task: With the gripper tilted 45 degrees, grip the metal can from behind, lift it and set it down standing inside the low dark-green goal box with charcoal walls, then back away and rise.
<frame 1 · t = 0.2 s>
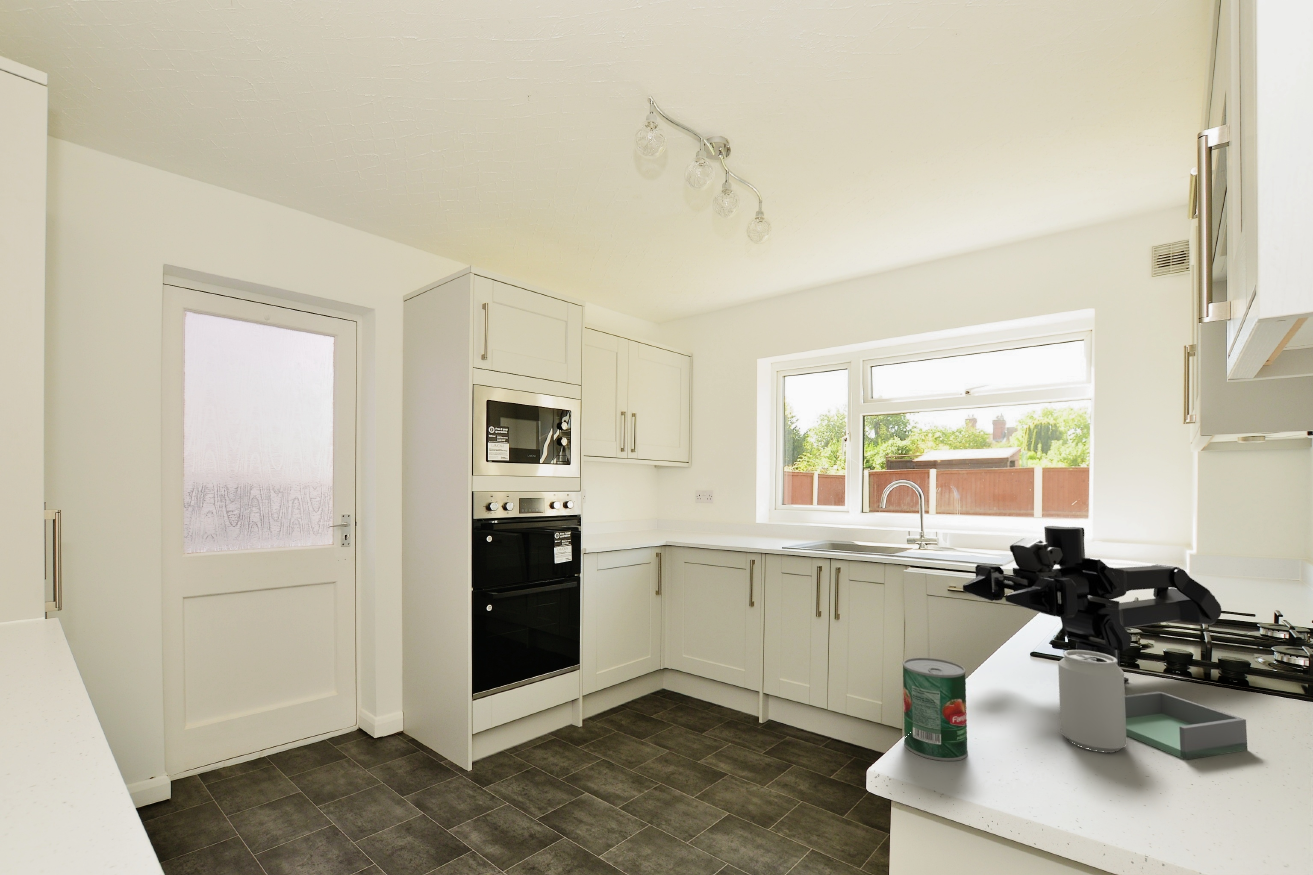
hand: (983, 593, 107), 17 cm above the countertop, tool horizontal, fingers open, 9 cm apart
can: (1093, 744, 86), on the countertop
canned tomato: (935, 749, 84), on the countertop
goal: (1172, 737, 88), on the countertop
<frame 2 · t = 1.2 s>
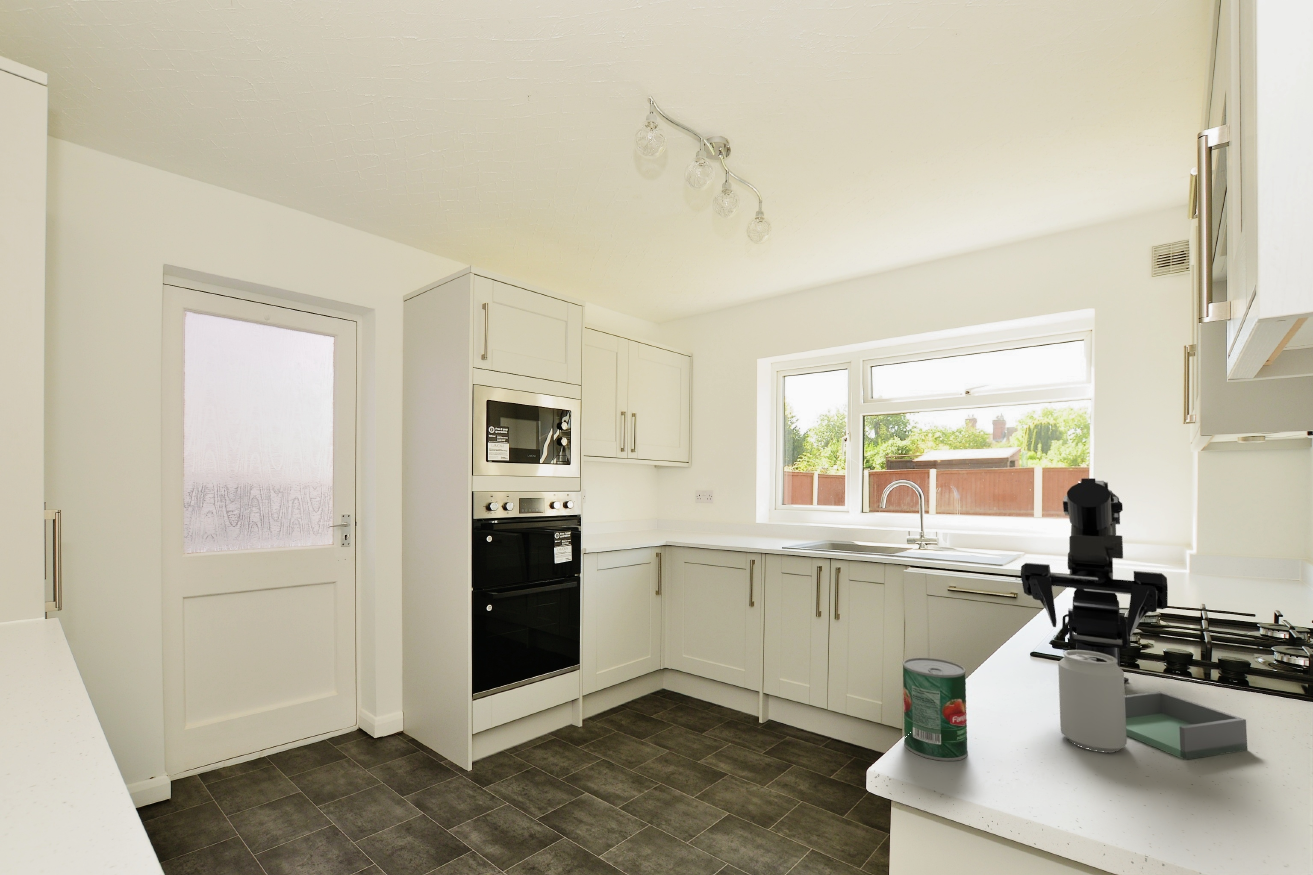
hand: (1090, 630, 93), 14 cm above the countertop, tool tilted 45°, fingers open, 9 cm apart
nothing on the countertop moved.
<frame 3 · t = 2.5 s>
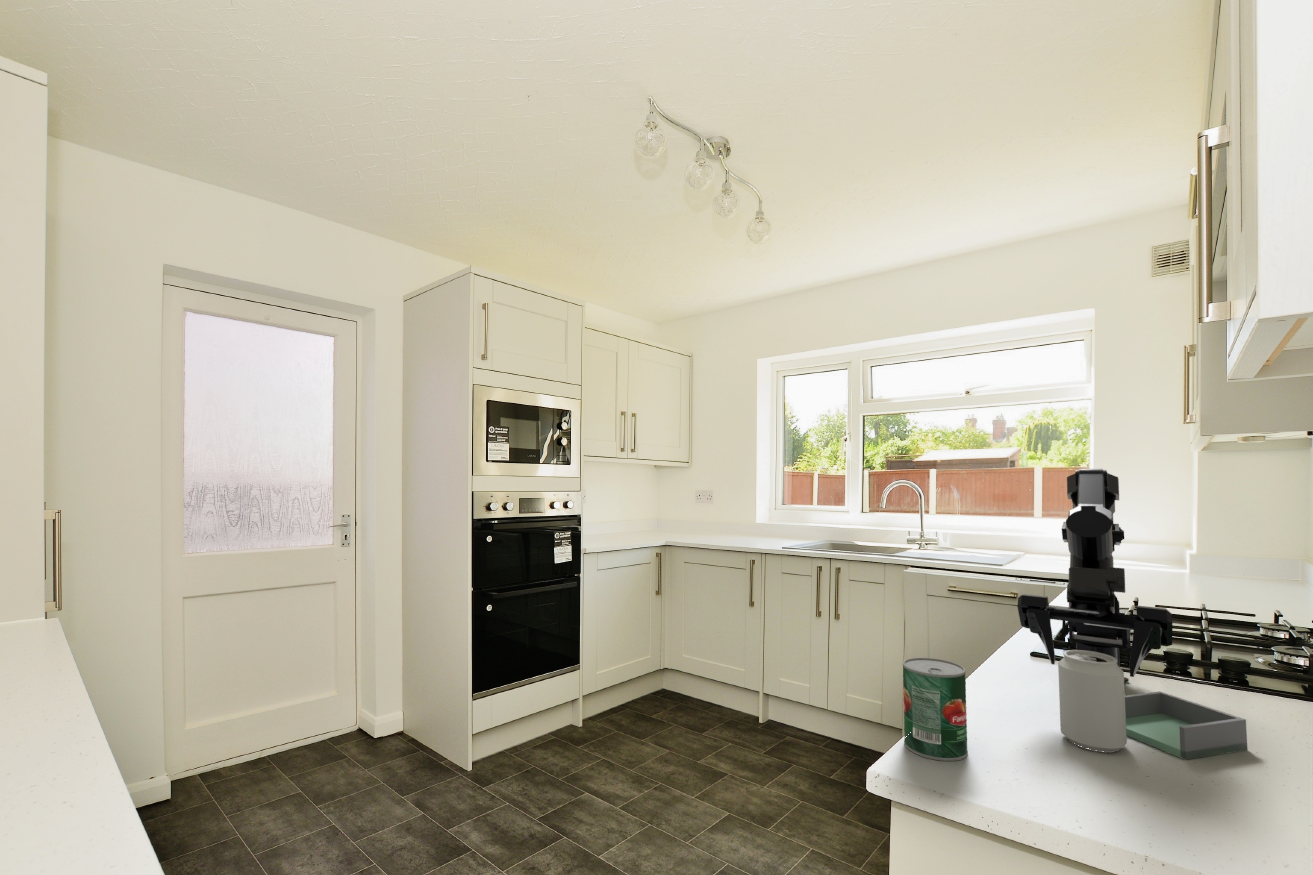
hand: (1091, 668, 88), 10 cm above the countertop, tool tilted 45°, fingers open, 9 cm apart
nothing on the countertop moved.
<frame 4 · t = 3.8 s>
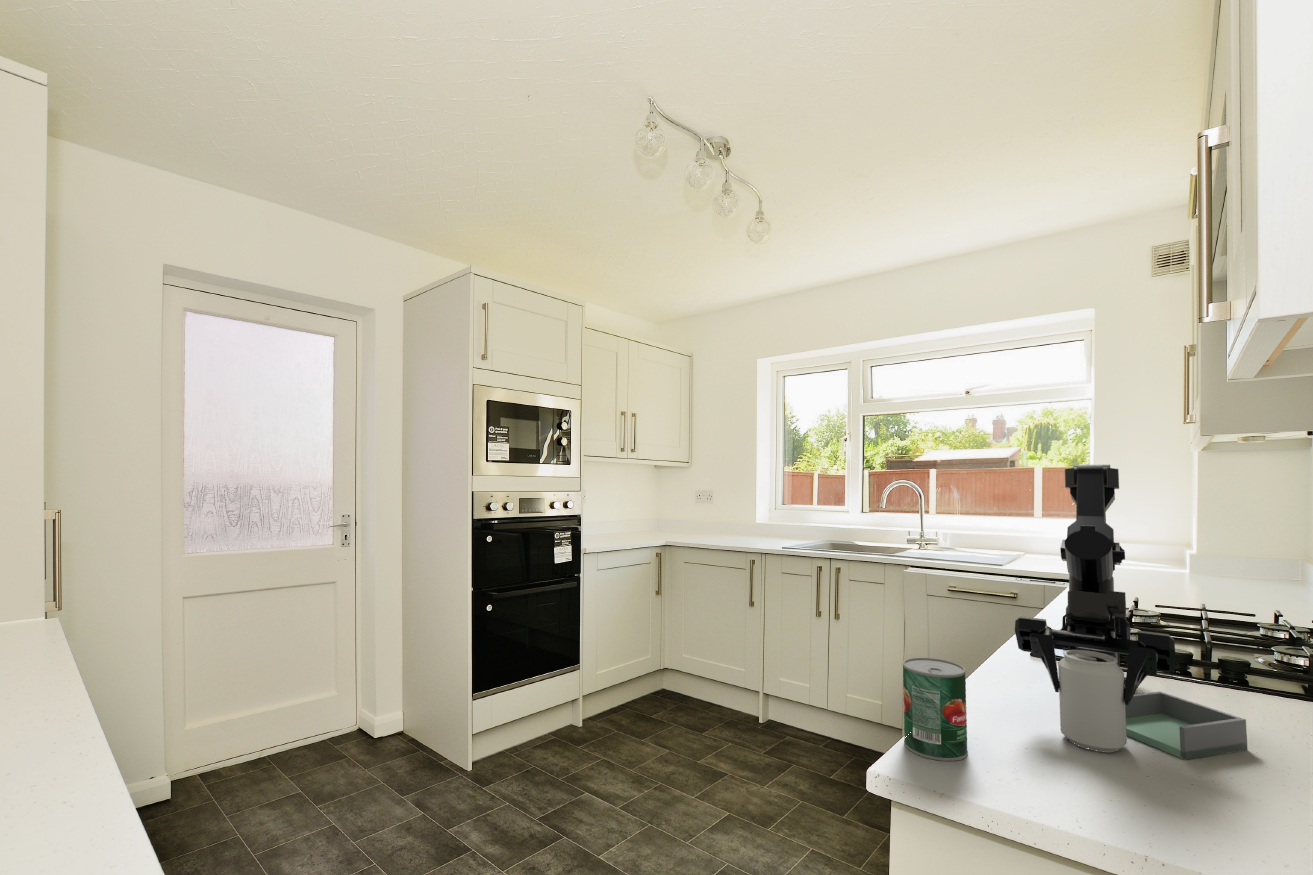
hand: (1090, 696, 85), 7 cm above the countertop, tool tilted 45°, fingers closed on can, 7 cm apart
can: (1093, 744, 86), on the countertop, touching gripper
everything else where it was.
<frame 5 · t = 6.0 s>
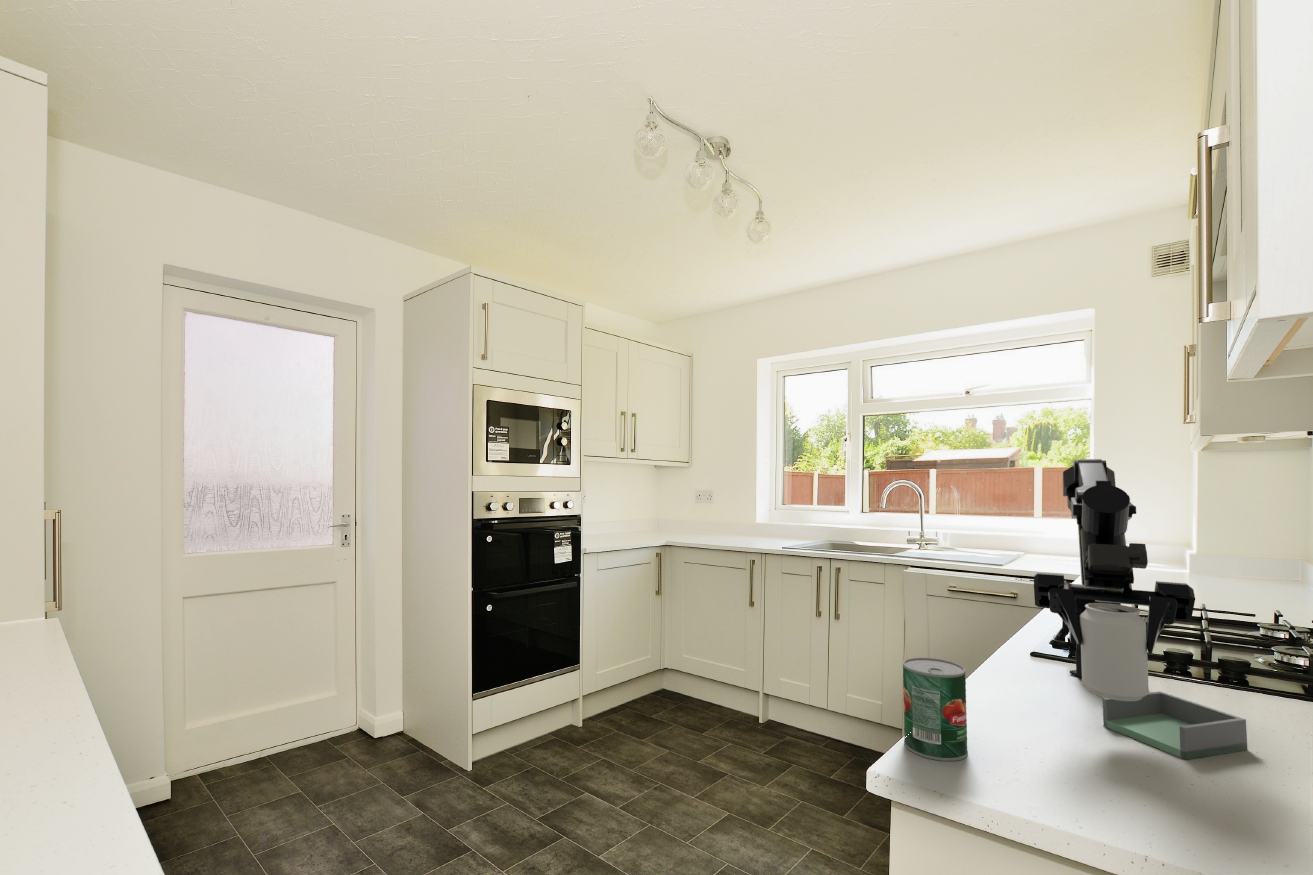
hand: (1114, 647, 86), 13 cm above the countertop, tool tilted 45°, fingers closed on can, 7 cm apart
can: (1114, 694, 87), point 6 cm above the countertop, touching gripper
everything else where it was.
when the fingers open (9 cm above the countertop, at t = 8.3 s): can drops 1 cm, resting on goal.
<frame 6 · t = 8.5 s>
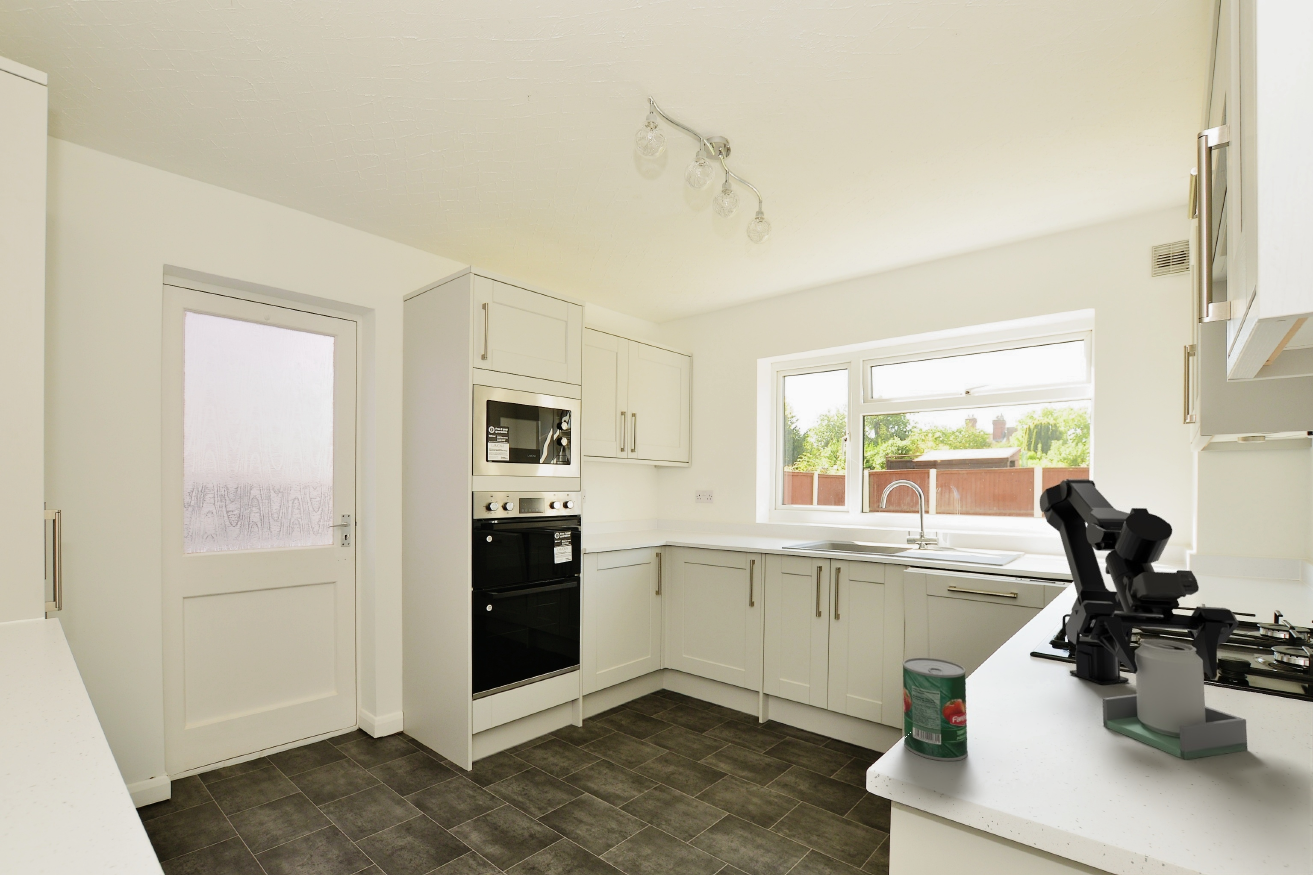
hand: (1174, 674, 87), 9 cm above the countertop, tool tilted 45°, fingers open, 9 cm apart
can: (1171, 730, 88), point 1 cm above the countertop, touching goal
everything else where it was.
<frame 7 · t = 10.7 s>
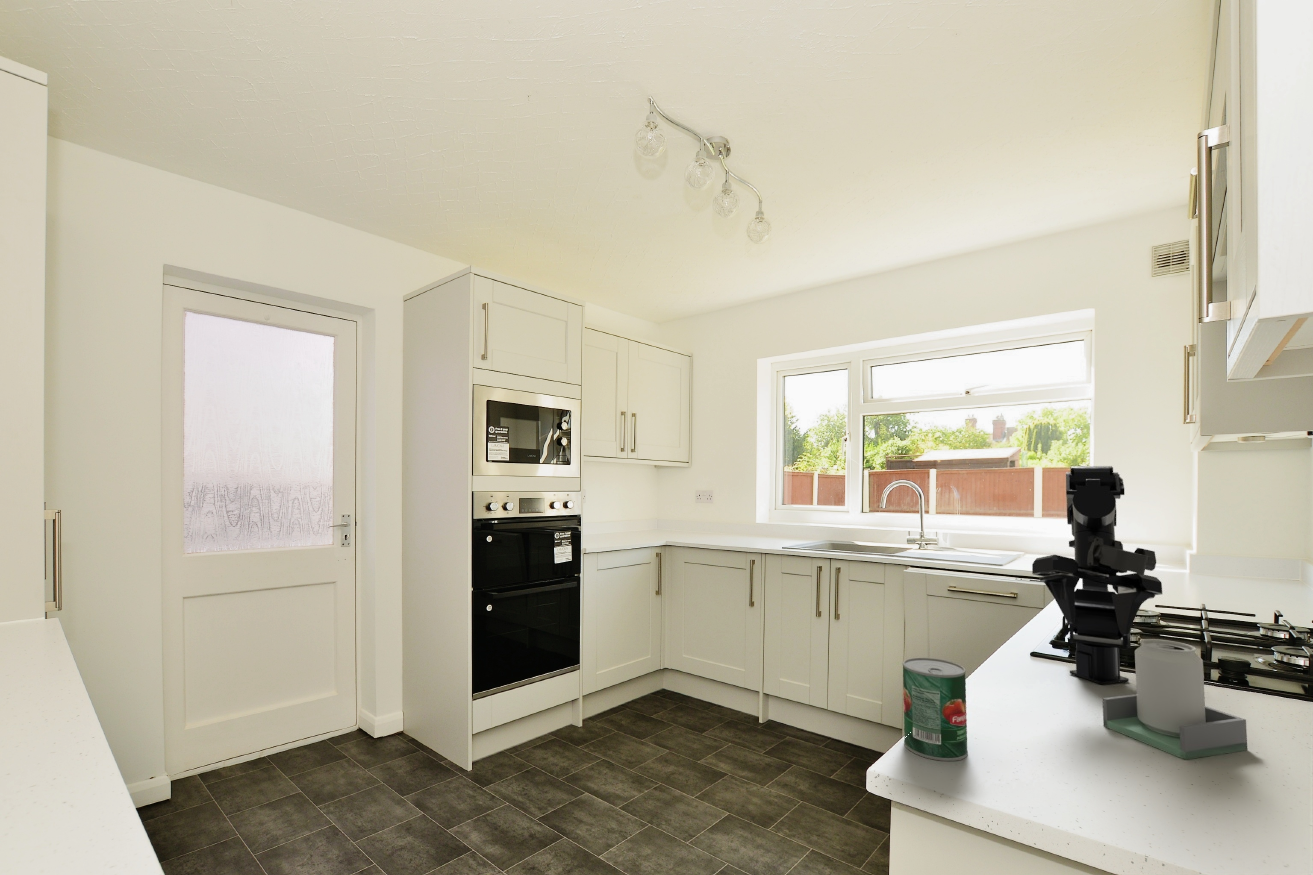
hand: (1097, 628, 101), 12 cm above the countertop, tool tilted 20°, fingers open, 9 cm apart
nothing on the countertop moved.
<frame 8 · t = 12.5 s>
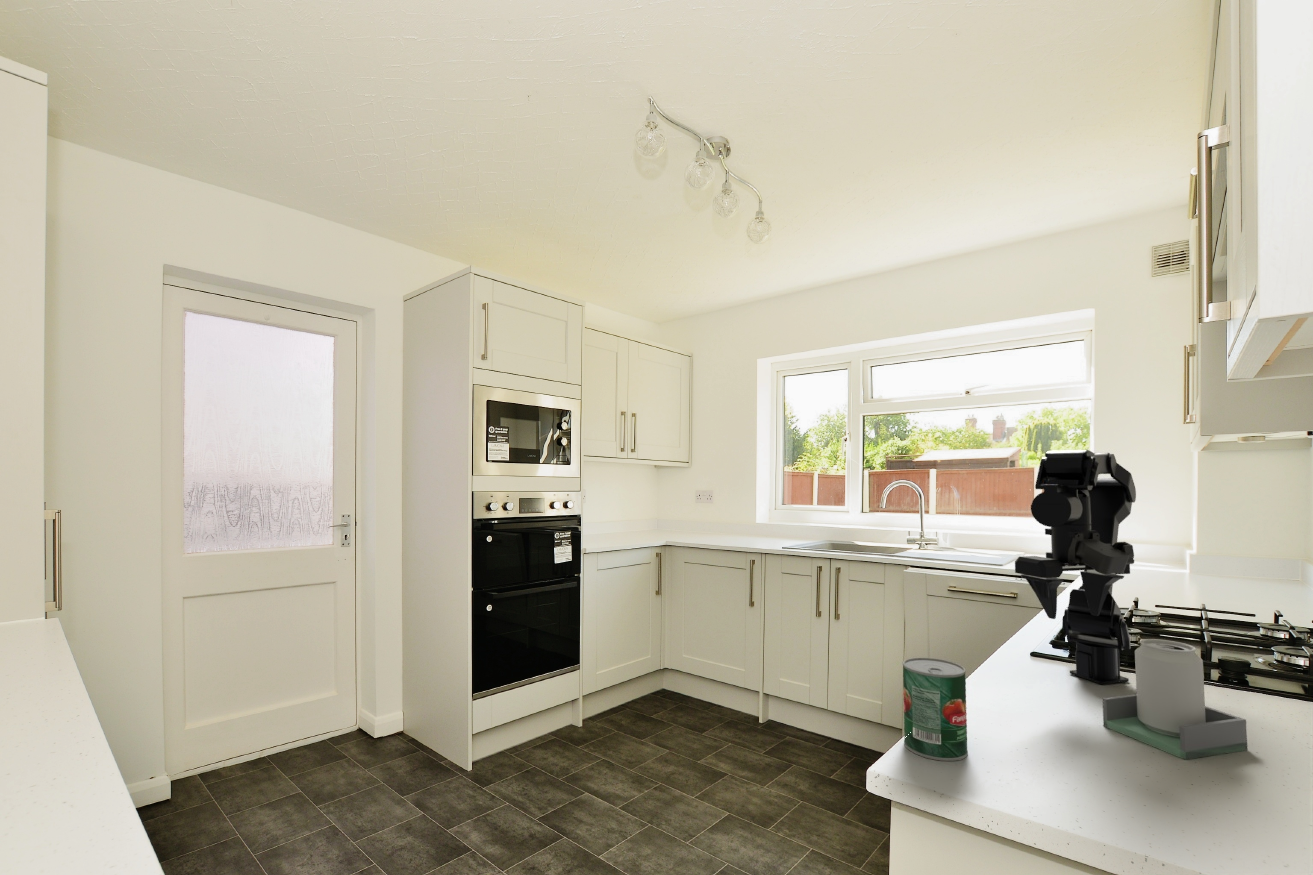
hand: (1073, 616, 105), 13 cm above the countertop, tool pointing down, fingers open, 9 cm apart
nothing on the countertop moved.
at the end: can inside the target area on the goal (0.4 cm from its centre), point 0.8 cm above the goal's base; can tilted 0°; the gripper is holding nothing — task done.
